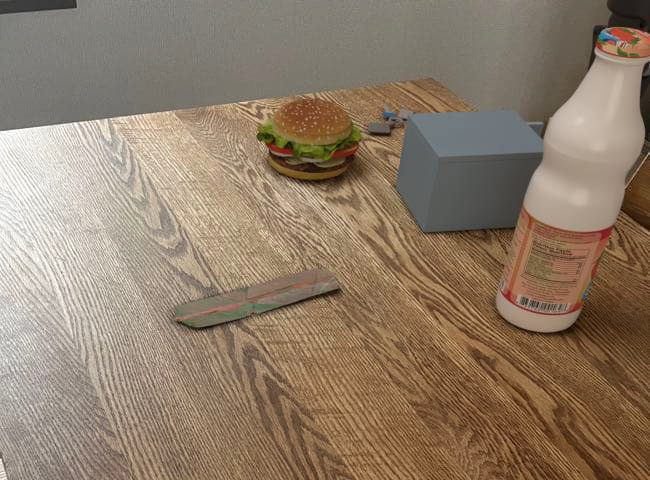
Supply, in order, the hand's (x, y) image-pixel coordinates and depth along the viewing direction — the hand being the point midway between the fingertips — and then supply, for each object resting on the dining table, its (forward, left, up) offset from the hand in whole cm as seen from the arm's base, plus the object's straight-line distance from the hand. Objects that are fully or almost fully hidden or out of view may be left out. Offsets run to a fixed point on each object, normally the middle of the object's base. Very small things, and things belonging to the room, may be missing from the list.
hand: (581, 180), depth 110 cm
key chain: (+17, -28, -3) cm, 33 cm away
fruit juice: (+16, +25, -3) cm, 30 cm away
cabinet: (+16, 0, -3) cm, 16 cm away
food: (+34, -15, -3) cm, 37 cm away
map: (+47, +19, -3) cm, 51 cm away
